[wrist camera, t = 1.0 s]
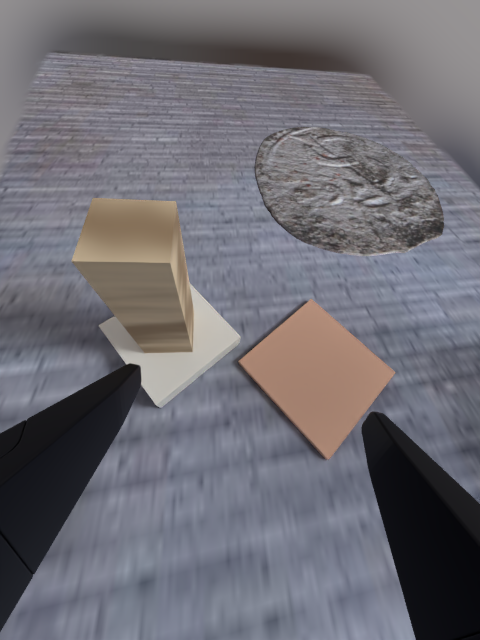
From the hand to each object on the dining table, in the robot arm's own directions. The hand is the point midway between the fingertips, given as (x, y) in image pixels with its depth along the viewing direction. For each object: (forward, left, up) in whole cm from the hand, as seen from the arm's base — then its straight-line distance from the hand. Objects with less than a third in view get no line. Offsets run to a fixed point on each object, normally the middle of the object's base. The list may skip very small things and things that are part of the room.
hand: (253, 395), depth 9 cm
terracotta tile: (+10, -2, -15) cm, 18 cm away
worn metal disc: (+41, +16, -15) cm, 47 cm away
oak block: (+1, +10, -13) cm, 17 cm away
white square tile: (+1, +10, -15) cm, 18 cm away
